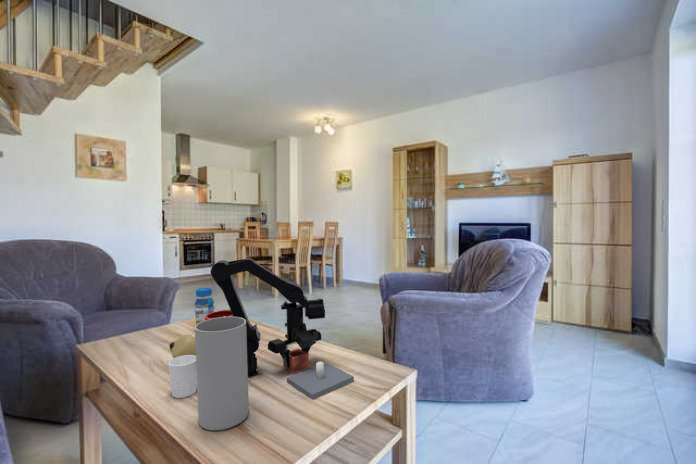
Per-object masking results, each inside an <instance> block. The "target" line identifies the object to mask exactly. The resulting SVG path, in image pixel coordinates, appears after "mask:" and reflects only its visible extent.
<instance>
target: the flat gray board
mask: <svg viewBox="0 0 696 464" xmlns="http://www.w3.org/2000/svg"><path fill="white" fill-rule="evenodd" d="M354 378H355V377H354V375H352V374H350V373H347V372H346V371H344V370H342V369H340V368H338V367H336V366H334V365H332V364H330V363H328V362H325V363H324V362H323V361H317V362H316V363H315V367H312V368H308V369H305V370H302V371H300V372H299V373H298V372H297V373H294V374H293V375H290V376H288V377H286V383H287V384H288V385H291V386H292V387H293V388H294V389H296V390H297V391H299V392H301V393H302V394H303V395H305V396H306V397H308V398H309V399H311V400H312V401H313V400H315V399H317V398H319V397H321V396H323V395H326V394H329V393H330V392H332V391H335V390H337V389H340V388H341V387H344V386H346V385H347V384H351V383H352V382H354V381H355V379H354Z"/></svg>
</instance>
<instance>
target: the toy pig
mask: <svg viewBox="0 0 696 464" xmlns="http://www.w3.org/2000/svg"><path fill="white" fill-rule="evenodd" d="M168 347H169V351H170V353H171V356H172V359H174V358H176V357H179V356H184V355H194V356H196V347H195V336H193V335H190V334H183V335H181V336H180V337H179V338H176V339H173V341H172V342H171V343H169V346H168Z"/></svg>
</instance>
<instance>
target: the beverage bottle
mask: <svg viewBox="0 0 696 464" xmlns="http://www.w3.org/2000/svg"><path fill="white" fill-rule="evenodd" d="M212 291H213V289H212V288H211V287H200V288H197V289H196V290H195V296H196V300H195V302H194V307H195V308H194V313H195V314H194V315H195V318H194V319H195V326H196V325H197V324H198V323H200V322H202V321H205V316H206V315H207V314H209V313H212V312H215V305H214V303H215V302H214V299H213V298H212V295H213V292H212Z"/></svg>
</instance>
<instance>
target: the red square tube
mask: <svg viewBox="0 0 696 464" xmlns="http://www.w3.org/2000/svg"><path fill="white" fill-rule="evenodd" d="M309 355H310V353H307V352H305V351H303V350H301V348H300V347H299V348H296V349H293V350H290V353H289V368H287V367H286V365H285V363H284V361H283V360H282V361H283V367H282V368H284V369H285V370H287V371H288V372H291V373H292V374H293V375H295V374H297V373H298V372H299V373H300V372H303V371H305V370H308V369H310V356H309Z"/></svg>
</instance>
